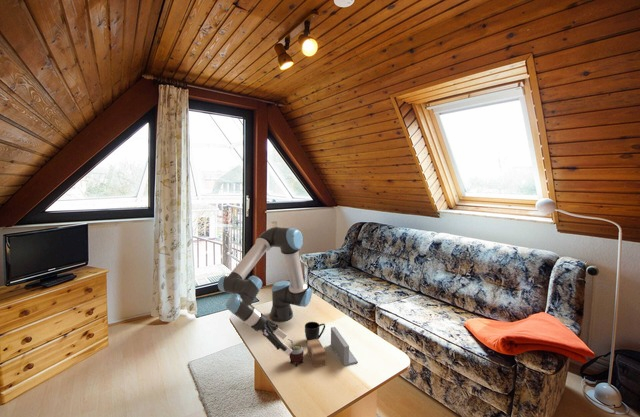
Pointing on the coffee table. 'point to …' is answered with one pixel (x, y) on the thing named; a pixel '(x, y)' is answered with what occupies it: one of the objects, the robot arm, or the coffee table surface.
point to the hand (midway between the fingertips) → (287, 344)
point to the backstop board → (341, 348)
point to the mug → (313, 330)
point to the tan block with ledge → (316, 353)
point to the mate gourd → (296, 354)
